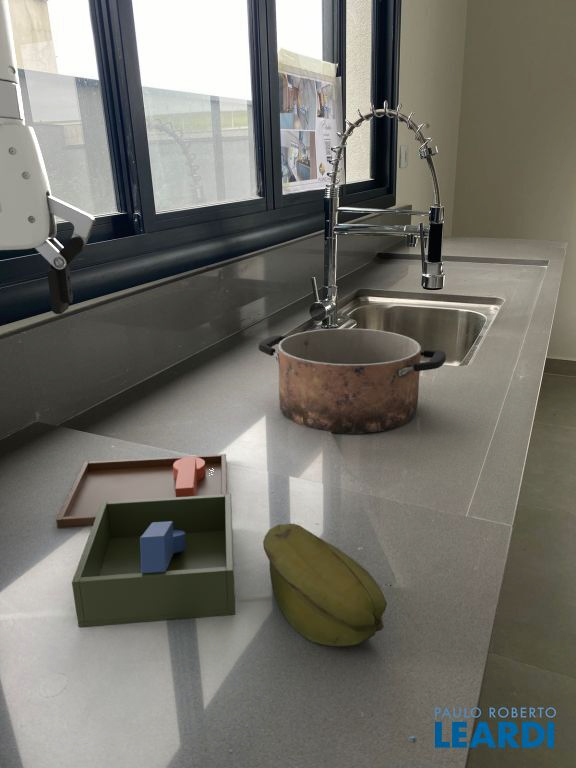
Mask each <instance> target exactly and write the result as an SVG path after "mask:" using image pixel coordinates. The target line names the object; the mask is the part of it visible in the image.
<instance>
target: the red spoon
mask: <svg viewBox="0 0 576 768" xmlns="http://www.w3.org/2000/svg"><path fill="white" fill-rule="evenodd" d="M173 473H174V478H175V479H176V487H175V493H176V497H189V496H196V492H197V481H198V480H201V479H202V478H204V477H205V475H206V468H205V461H204V460H203V459H201V458H197V457H186V458H182V459H179V460H177V461H175V462H174V464H173Z"/></svg>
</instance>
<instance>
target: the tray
mask: <svg viewBox="0 0 576 768" xmlns="http://www.w3.org/2000/svg"><path fill="white" fill-rule="evenodd" d="M186 457H197V458H201V459H203V460H204V461H205V468H206V475H205V477H204V478H202V479H201V480H198V481H197V492H196V496H205V495H221V494H228V479H227V478H228V477H227V475H228V473H227V472H228V471H227V454H226V453H218V454H198V455H182V456H166V457H165V456H163V457H162V456H161V457H147V458H132V459H131V458H129V459H112V460H111V459H110V460H93V461H84V462H83V464H82V465H81V468H80V470H79V472H78V474H77V476H76V478H75V480H74V482H73V485H72V486H71V489H70V491H69V493H68V495H67V496H66V499H65V501H64V503H63V505H62V507H61V509H60V511H59V513H58V515H57V517H56V520H55V521H56V528H57V529H69V528H84V527H93V524H94V521H95V519H96V516H97V513H98V510H99V508H100V505H101V502H109V501H125V500H141V499H157V498H173V497H176V493H175V487H176V479H175V478H174V473H173V464H174V462H175V461H177V460H179V459H182V458H186ZM212 468H213V469H214V470H213V469H212ZM209 469H210V470H213V471H214V472H213V471H210V470H209ZM211 472H212V473H211ZM209 473H210V474H209ZM211 474H213V475H211ZM209 475H210V476H209Z"/></svg>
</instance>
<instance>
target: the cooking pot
mask: <svg viewBox="0 0 576 768" xmlns="http://www.w3.org/2000/svg"><path fill="white" fill-rule="evenodd" d="M276 345H278V350H277V351H278V352H276V348H274V346H276ZM258 351H259V352H262V353H264V354H266V355H268V356H270V357H272V356H275V360H276V361H277V363H278V400H279V401H278V402H279V411H281V413H282V415H283V416H284V417H285V418H287V419H288V420H289V421H292V422H294V423H296V424H298V425H301V426H304V427H307V428H311V429H315V430H317V431H318V430H319V431H325V432H330V434H339V435H340V434H341V435H363V434H374V433H381V432H386V431H389V430H394V429H396V428H399V427H401V426H403V425H405V424H407V423H409V421H410V420H412V418H414V416H416V414H417V411H418V403H419V390H420V389H419V387H420V372H422V371H429V370H436V369H439V368H441V367H442V366H443V365H444V364H445V363H446V360H447V355H446V352H445V351H443V350H440V349H425V350H423V351H422V347H421V344H420V343H418V341H416V339H413V338H411V337H409V336H406V335H403V334H399V333H396V332H391V331H387V330H386V331H385V330H379V329H370V328H369V329H367V328H353V327H352V328H347V327H346V328H342V327H341V328H338V327H337V328H322V329H315V330H308V331H302V332H298V333H294V334H291V335H289V336H287V335H280V334H279V335H277V334H276V335H272V336H269V337H267V338H265V339H263V340H261V341H260V342H259V343H258ZM421 356H423V357H424V358H429V361H423V362H421Z"/></svg>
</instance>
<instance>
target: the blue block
mask: <svg viewBox="0 0 576 768" xmlns="http://www.w3.org/2000/svg"><path fill="white" fill-rule="evenodd" d="M140 548H141V573H142V574H143V573H157V572H165V571H166V569H167V567H168V565H169V562H170V560H171V558H172V556H173V553H177V552H181V551H183V550H185V549H186V538H185V532H184V531H181V530H173V521H168V522H153V523H151V525H150V526H149V527H148V529H147V530H146V531H145V532H144V534H143V535H142V536H141V537H140Z"/></svg>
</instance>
